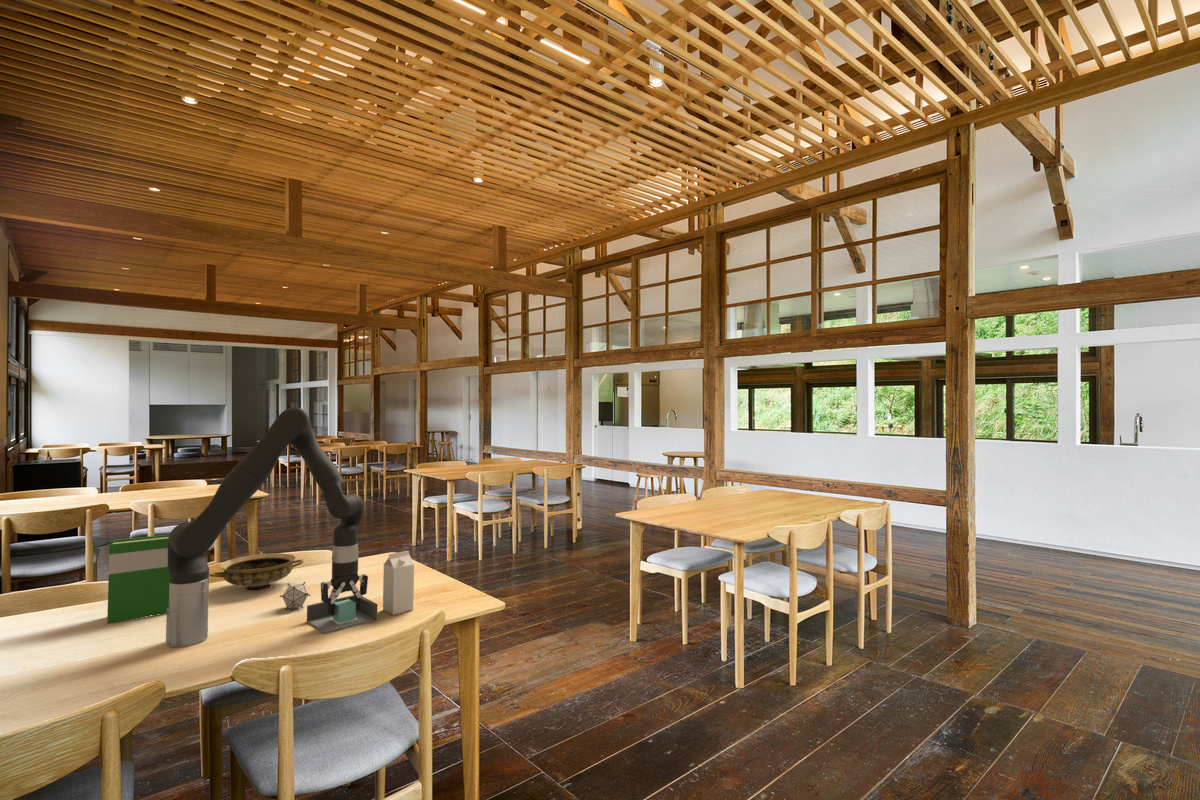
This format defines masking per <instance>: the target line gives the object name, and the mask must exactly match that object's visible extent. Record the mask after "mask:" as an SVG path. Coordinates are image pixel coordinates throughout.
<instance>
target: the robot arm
mask: <svg viewBox="0 0 1200 800" xmlns="http://www.w3.org/2000/svg"><path fill="white" fill-rule="evenodd" d="M310 419H311V418H310V416H309V415H308V413H307V412H306V411H305V409H303V408H301V407H289V408H286V409H284V410H283V411H282V412H281V413H280V414H279V415H278V416H277V417H276V418H275V420H274V421H273V423H272V424H271V425H270V427H269V428H268V430H267V431H266V432H265V434H264V435H263V436H262V437H261V439H260V440H259V441H258V442H257V443H256V444H255V445H254V446H253V447H252V448H251V449H250V450H249V451H248V452H247V453H246V455H244V456H243V458H242V459H240V461H239V462H238V463H237V464H235V466H234V467H233V468H232V469H231V470H230V471H229V473H227V475H226V476H225V477H224V479H223V480H222V481H221V482H220V484H219V486H218V488H217V490H216V491H215V494H214V495H213V498H211V501H210V502H209V504H208V505H207V506H206V508H205V509H204V510H203V511H202V512H201V513H200V514H199V515H198V516H197V517H196V518H195V519H194V520H193V521H184V522H182V523H179V524H177V525H175V527H174V528H172V530H171V532H170V533H169V534H170V535H169V538H168V572H169V608H167V614H166V619H165V622H166V623H165V625H166V626H165V643H166V645H167V646H168V647H169V648H170V649H171V648H176V647H177V648H178V647H179V648H180V647H188V646H191V645H192V646H193V645H197V644H199V643H201V642H203V641H205V640H206V639H208V635H209V634H208V632H209V628H208V627H209V596H210V595H209V593H210V592H209V590H210V586H209V585H210V567H209V565H208V564H209V563H208V559H207V552H208V551H209V550H210V548H212V546H213V545H214V543H215V542H216V540H217V539H218V537H219V536H220V535H221V534H222V532H223V530H224V529H225V527H226V526H227V525H228V523H229V522H230V521H231V520H232V519H233V517H234V516H235V515H236V514H238V513H239V511H240V510H241V509H242V508H243V507H244V506H245V504H246V503H248V501H249V500H250V499H251V498H252V497H253V495H255V493H257V491H258V490H259V489H260V488H261V487H262V486H263V485H264V483H265V482H266V480H267V479H268V478H269V476H270V475H271V474H272V471H273V470H274V468H275V466H276V463H277V461H278V460H279V458H280V456H281V455H282V453H283V452H284V450H285V449H286V448H287V447H288V446H289V445H291V446H292V447H293V449H295V450H296V451H297V452H298V454H299V455H300V457H301V458H302V459H303V462H305V464H306V467H307V468H308V470H309V473H310V474H311V475H312V478H313V479H314V480H315V482H316V484H317V485H318V487H319V489H320V490H321V491H322V495H323V498H324V502H325V505H326V508H327V511H328V513H329V514H330V515H331V516H332V517H333V518H335V519H339V520H340V522H339V524H338V525H337V526H336V527H334V529H333V538H332V539H333V543H332V545H333V547H332V551H331V555H332V556H331V579H330V581H326V582H325V581H322V582H321V583H320V594H321V595H320V597H321V598H320V600H321V602H324V603H328V613H329V614H330V615H331V616H334V615H335V603H334V602H335V600H336V599H338V598H339V596H340V594H342V593H343V594H344V593H345V592H352V595H354V596H355V597H353V602H355V603H356V610H358V608H359V607H360V597H361V596H366V595H367V592H368V581H369V575H366V573H365V574H364V573H363V574H361V575H359V573H358V572H359V543H358V542H359V541H358V540H359V527H360V524H361V521H362V517H363V513H364V504H363V503H364V502H363V499H362V497H361V496H360V495H359V494H357V493H348V494H347V493H346V494H344V492H343V490H342V489H343V487H344V486H346V485H345V483H346V482H345V480H344V478H343V476H342V474H341V473H340V471H339V470H338V468H337V467H336V465H335V464H334V463H333V461H332V460H331V458H329V456H328V455H327V454H326V452H325V451H324V450H323V449H322V447H321V445H320V443H319V441H318V440H317V438H316V436H315V433H314V429H313V428H312V422H311V420H310ZM358 581H359V582H360V584H359V588H358V587H357V585H356V584H357V583H358ZM330 587H332V590H331V591H330V595H329V589H330ZM187 645H188V646H187Z"/></svg>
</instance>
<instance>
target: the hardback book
mask: <svg viewBox="0 0 1200 800" xmlns="http://www.w3.org/2000/svg"><path fill="white" fill-rule="evenodd" d="M169 535H170V533H169V534H160V535H150V536H149V535H148V536H139V537H131V538H122V539H111V540H109V550H108V551H109V553H108V583H107V584H108V586H107V587H108V588H107V590H108V591H107V619H106V624H109V625H110V624H114V623H115V624H116V623H121V622H126V620H127V621H131V619H133V620H137V619H136V618H138V619H142V618H141V617H144V618H146V617H145V616H150V615H156V616H158V615H157V614H161V615H165V614H164V613H167V608H169V572H168V538H169ZM150 617H151V616H150Z"/></svg>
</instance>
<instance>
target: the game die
mask: <svg viewBox="0 0 1200 800" xmlns="http://www.w3.org/2000/svg"><path fill="white" fill-rule="evenodd" d="M286 585H287V587H286V589H285V591H284V592H283V594H282V595H281V594H280V595H279V597H280V598H282V599H283V602H284V604H285V606H286V607H285V611H286V610H288V608H299V607H301V608H302V609H304V604H305V602H306V600H307V598H308V597H310V596H311V594H309V593H308V591H307V589H306V587H305V585H306V581H304V582H303V583H299V584H290V583H289V582H288V583H287V584H286Z"/></svg>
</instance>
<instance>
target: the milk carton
mask: <svg viewBox="0 0 1200 800" xmlns="http://www.w3.org/2000/svg"><path fill="white" fill-rule="evenodd" d="M414 573H415V563H414V561H413V559H412V557H411V555H410V550H404V551H399V552H393V553H388V558H387V559H386V561H385V562H384V563H383V577H382V578H383V581H382V584H383V586H382V587H383V588H382V610H383V611H384V612H387V613H389V614H391V615H398V614H402V613H406V612H410V611H413V610H414V597H415V596H414V592H415V591H414V587H415V586H414V585H415V582H414V581H415V574H414Z"/></svg>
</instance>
